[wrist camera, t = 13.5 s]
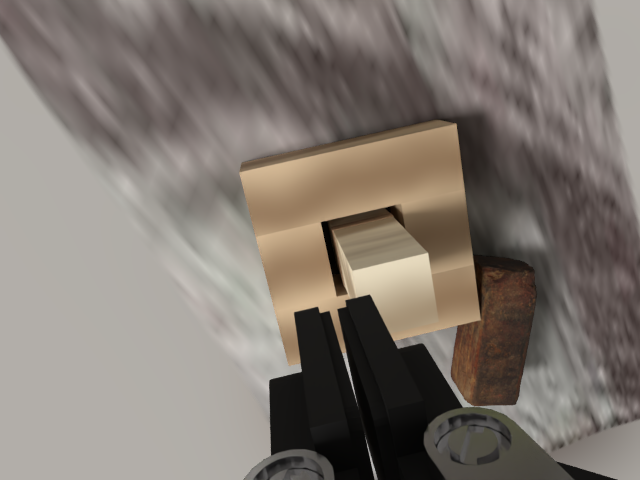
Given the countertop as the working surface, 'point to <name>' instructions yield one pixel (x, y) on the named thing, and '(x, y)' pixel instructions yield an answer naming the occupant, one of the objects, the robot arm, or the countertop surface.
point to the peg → (385, 268)
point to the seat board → (357, 197)
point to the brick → (496, 333)
